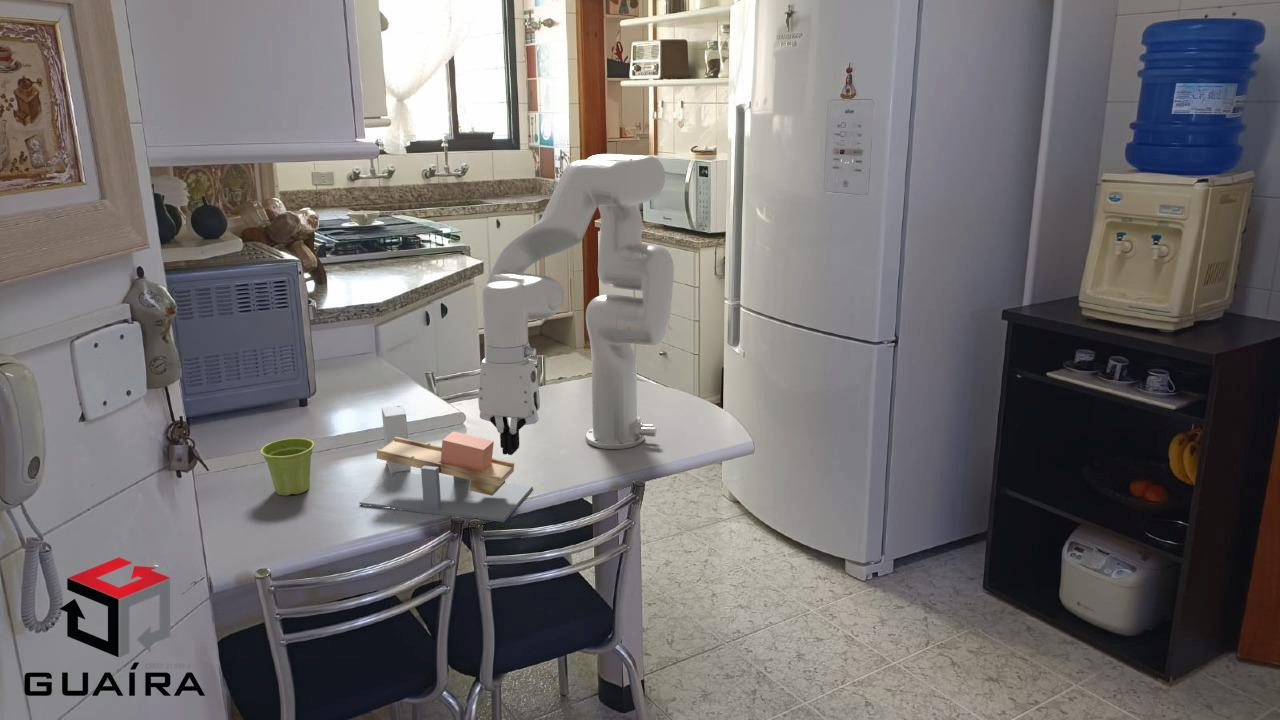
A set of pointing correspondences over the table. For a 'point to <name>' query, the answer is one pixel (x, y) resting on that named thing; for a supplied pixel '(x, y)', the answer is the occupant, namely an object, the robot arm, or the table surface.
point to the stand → (446, 496)
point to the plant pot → (289, 464)
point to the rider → (467, 451)
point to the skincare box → (395, 431)
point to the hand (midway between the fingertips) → (510, 451)
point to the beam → (431, 456)
